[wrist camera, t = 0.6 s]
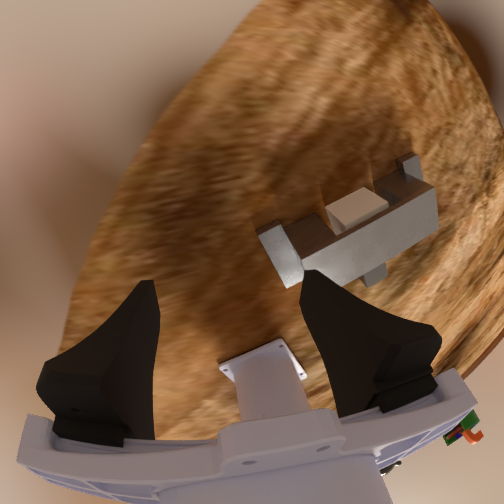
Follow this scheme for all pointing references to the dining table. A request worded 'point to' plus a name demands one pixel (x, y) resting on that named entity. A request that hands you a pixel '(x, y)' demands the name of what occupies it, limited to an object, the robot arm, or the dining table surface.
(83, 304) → the dining table surface
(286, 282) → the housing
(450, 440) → the motor
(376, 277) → the plug
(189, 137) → the dining table surface
